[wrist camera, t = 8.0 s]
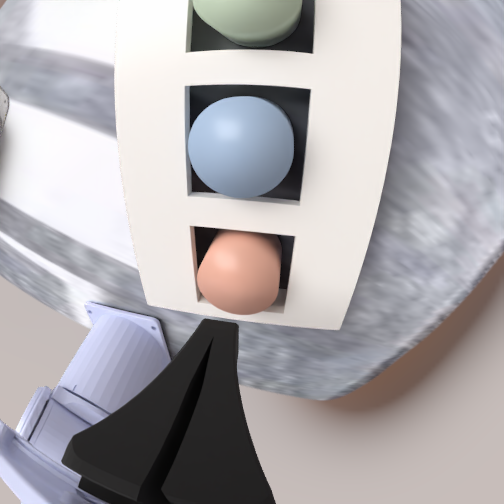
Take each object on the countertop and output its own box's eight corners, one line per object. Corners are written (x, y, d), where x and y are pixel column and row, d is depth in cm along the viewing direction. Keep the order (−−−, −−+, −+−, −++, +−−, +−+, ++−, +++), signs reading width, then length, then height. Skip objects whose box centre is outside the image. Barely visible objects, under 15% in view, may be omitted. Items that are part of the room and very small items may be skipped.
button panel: (335, 301, 18) (339, 330, 15) (162, 279, 19) (147, 304, 16) (381, -21, 7) (396, -39, 4) (149, -23, 8) (125, -36, 5)
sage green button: (299, 50, 10) (301, 36, 7) (212, 48, 10) (189, 36, 7) (301, -18, 7) (303, -46, 5) (216, -18, 8) (196, -43, 5)
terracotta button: (278, 281, 17) (274, 319, 14) (214, 273, 17) (200, 309, 14) (285, 222, 15) (282, 256, 12) (212, 215, 15) (193, 246, 12)
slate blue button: (289, 178, 13) (288, 202, 11) (211, 172, 14) (190, 194, 11) (296, 98, 11) (298, 99, 8) (211, 95, 11) (187, 97, 9)
